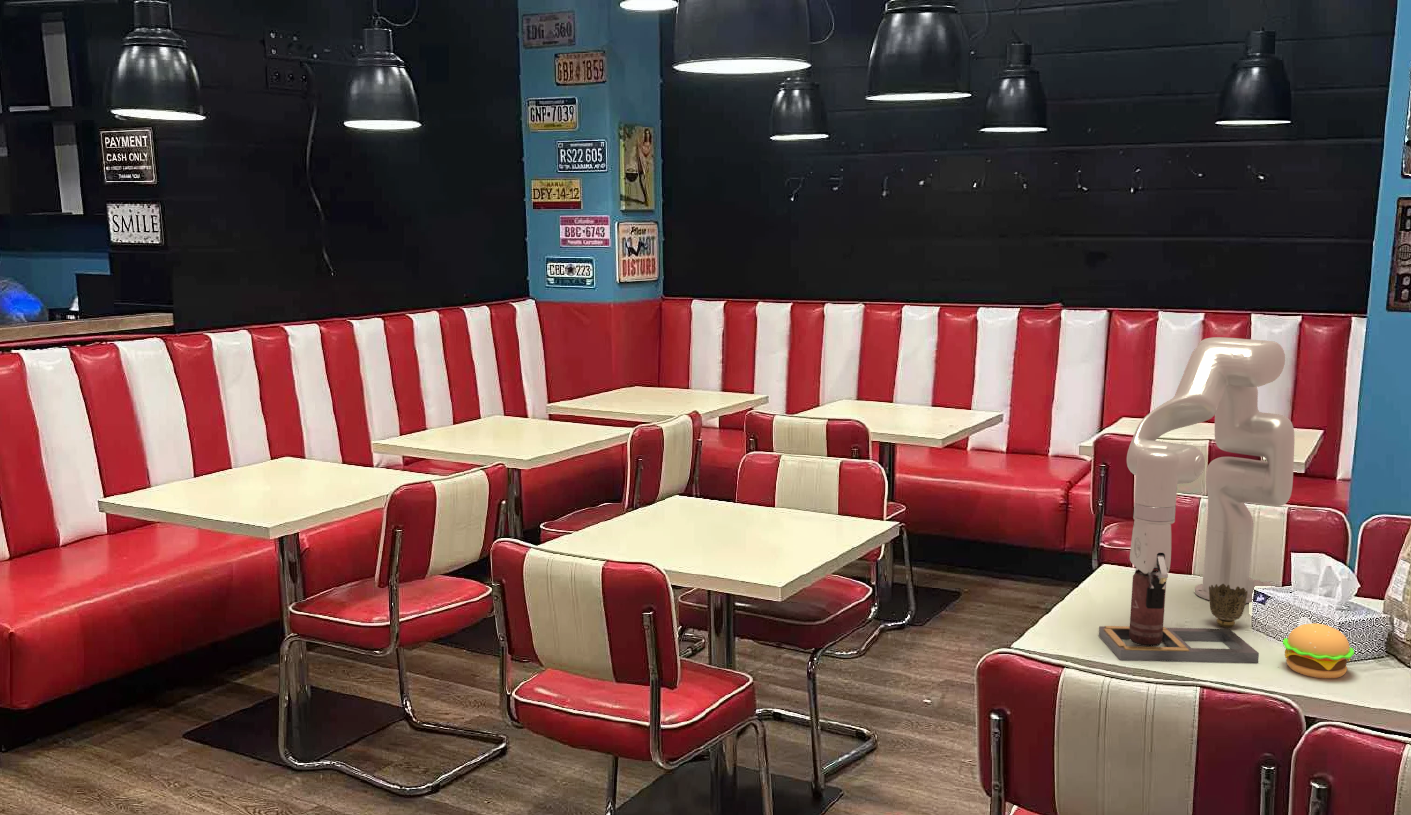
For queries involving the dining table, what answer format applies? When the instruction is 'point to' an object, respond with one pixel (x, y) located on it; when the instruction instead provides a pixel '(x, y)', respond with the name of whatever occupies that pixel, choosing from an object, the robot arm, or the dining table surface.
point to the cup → (1227, 604)
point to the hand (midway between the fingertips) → (1148, 601)
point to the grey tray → (1181, 646)
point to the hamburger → (1317, 651)
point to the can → (1144, 614)
